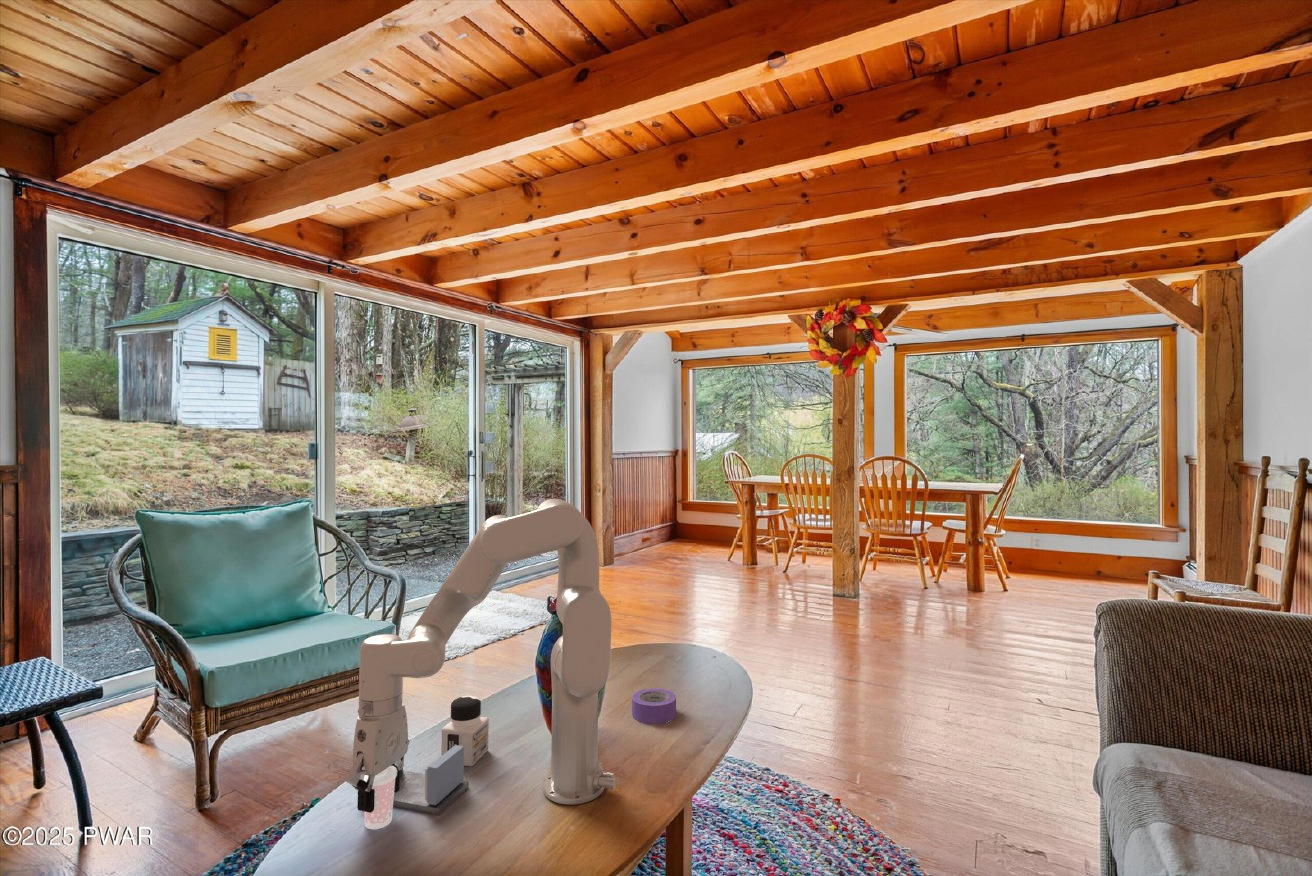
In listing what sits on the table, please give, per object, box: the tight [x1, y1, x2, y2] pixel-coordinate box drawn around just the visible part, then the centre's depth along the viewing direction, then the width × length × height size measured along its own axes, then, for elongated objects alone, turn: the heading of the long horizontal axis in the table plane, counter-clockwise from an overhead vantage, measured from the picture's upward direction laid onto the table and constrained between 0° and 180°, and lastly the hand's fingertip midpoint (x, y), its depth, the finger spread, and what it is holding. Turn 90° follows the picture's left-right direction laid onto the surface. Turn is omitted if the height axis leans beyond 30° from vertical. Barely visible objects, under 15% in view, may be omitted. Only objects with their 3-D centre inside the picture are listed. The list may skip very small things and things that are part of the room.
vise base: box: [393, 756, 470, 816], centre depth 124 cm, size 18×10×9 cm, turn 74°
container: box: [440, 695, 490, 767], centre depth 139 cm, size 8×8×13 cm
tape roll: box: [631, 687, 677, 726], centre depth 162 cm, size 12×12×5 cm
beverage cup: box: [363, 766, 397, 830], centre depth 115 cm, size 6×6×14 cm
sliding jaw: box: [424, 745, 465, 805], centre depth 122 cm, size 2×9×7 cm, turn 164°
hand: (378, 799), depth 114 cm, fingers closed on beverage cup, 6 cm apart
